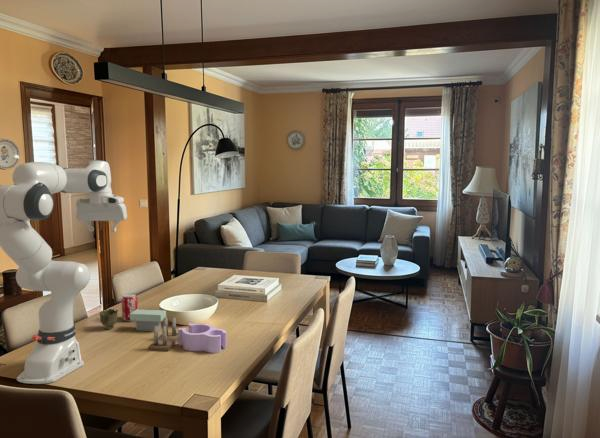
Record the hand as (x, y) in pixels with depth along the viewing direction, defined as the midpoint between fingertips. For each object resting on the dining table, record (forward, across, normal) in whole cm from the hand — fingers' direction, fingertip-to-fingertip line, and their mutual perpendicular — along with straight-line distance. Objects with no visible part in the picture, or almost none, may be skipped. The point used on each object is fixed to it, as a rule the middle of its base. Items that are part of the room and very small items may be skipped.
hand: (102, 231), depth 195 cm
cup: (+45, -1, +5) cm, 45 cm away
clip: (+45, +44, -15) cm, 65 cm away
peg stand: (+45, +28, -12) cm, 54 cm away
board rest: (+45, +17, +4) cm, 48 cm away
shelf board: (+40, +17, +4) cm, 43 cm away
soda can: (+45, +4, +16) cm, 48 cm away
